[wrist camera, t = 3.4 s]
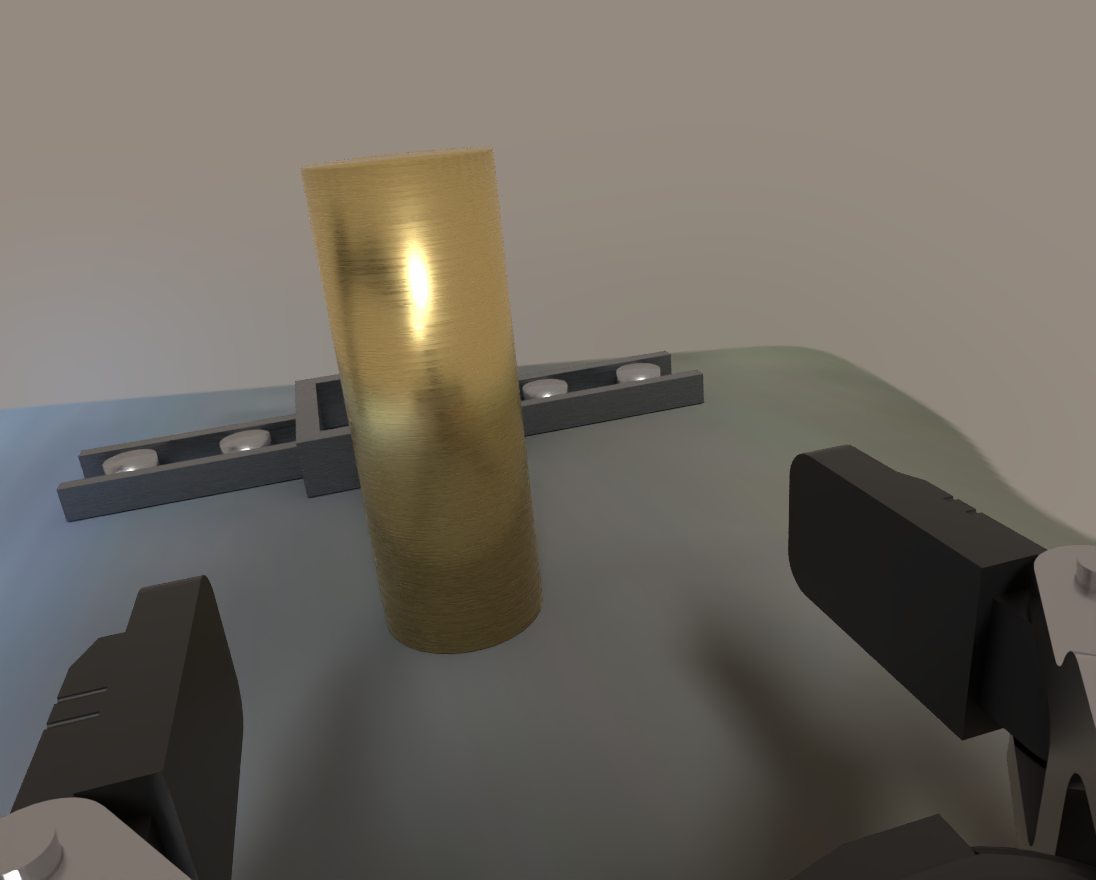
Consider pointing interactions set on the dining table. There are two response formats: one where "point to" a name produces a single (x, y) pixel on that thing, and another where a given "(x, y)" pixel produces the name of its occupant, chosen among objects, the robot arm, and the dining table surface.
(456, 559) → the brass pin
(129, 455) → the ball bearing track
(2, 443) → the dining table surface
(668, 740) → the dining table surface
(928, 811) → the dining table surface
